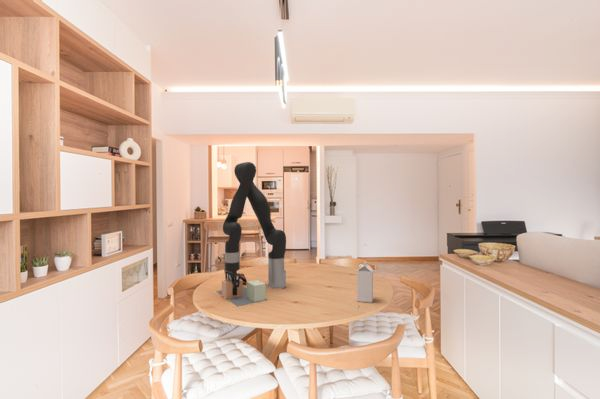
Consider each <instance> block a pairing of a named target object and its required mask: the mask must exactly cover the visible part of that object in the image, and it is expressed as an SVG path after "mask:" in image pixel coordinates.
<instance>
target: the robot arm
mask: <svg viewBox="0 0 600 399" xmlns="http://www.w3.org/2000/svg"><path fill="white" fill-rule="evenodd" d="M233 173H234V175H235V177H236V179H237V181H238V182H239V185H238V188H237V190H236V191H235V194H234V196H232V200H231V202H230V207H229V210H228V213H227V216H226V218H225V219H224V222H223V225H222V232H223V233H224V235H227V236H228V240H227V241H225V243H224V244H225V245H224V271H225V272H224V275H225V276H224V277H225V280H230V281H231V283H232V287H233V295H237V287H239V283H240V276H239V275H237V274H238V271H239V270H240V266H241V263H240V259H241V258H240V241H241V237H242V233H243V232H242V226H241V224H240V223H239V222H238V220H239V219H241V218H242V217H243V213H244V210H245V207H246V206H245V205H246V201H247V199H248V201H249V203H250V206H251V208H252V210H253V212H254V214H255V217H256V218H257V221H258V223H259V224H260V227H261V230H262V233H263V235H264V240H265V241H266V242H267V244H269V245H271V246H272V248H271V251H269V252H268V255H267V256H268V258H267V259H268V262H267V263H268V264H267V265H268V266H267V267H268V273H267V274H268V276H267V278H268V281H267V282H268V287H269V288H271V289H284V288H287V271H286V270H285V255H286V251H287V236H286V233H285V232H284V231H283V229H276V227H275V226H274V224H273V221H272V219H271V216H272V215H271V214H272V212H271V206H270V203H269V202H268V199H267V198H266V196H265V194H264V193H263V192H262V191H261V190H260V189H259V188H258V187H257V185H256V184H255V183H254V180H255V177H256V174H257V167H256V165H255V164H254V163H253V162H251V161H244V162H241V163H237V164H236V165H235V166H234V172H233ZM237 283H238V284H237Z"/></svg>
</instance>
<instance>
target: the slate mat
mask: <svg viewBox="0 0 600 399" xmlns="http://www.w3.org/2000/svg"><path fill="white" fill-rule="evenodd" d="M216 293H218V294H219V295H221V296H222V289H220V290H217V291H216ZM227 300H228V301H229V302H231V303H232V304H233V305H234V306H236V307H243V306H246V305H250V304H251V305H253V304H256V303H257V302H253V301H252V300H250V299H248V298H247V287H245V286H244V285H243V296H240V297H235V298H230V299H227ZM265 301H268V299H267V298H266V300H263V301H259V302H258V303H261V302H265Z"/></svg>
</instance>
